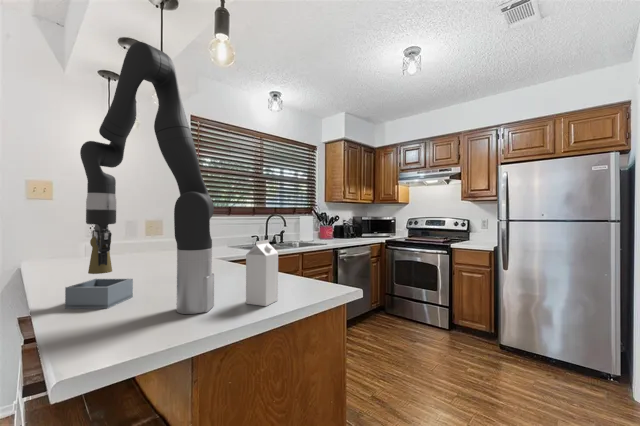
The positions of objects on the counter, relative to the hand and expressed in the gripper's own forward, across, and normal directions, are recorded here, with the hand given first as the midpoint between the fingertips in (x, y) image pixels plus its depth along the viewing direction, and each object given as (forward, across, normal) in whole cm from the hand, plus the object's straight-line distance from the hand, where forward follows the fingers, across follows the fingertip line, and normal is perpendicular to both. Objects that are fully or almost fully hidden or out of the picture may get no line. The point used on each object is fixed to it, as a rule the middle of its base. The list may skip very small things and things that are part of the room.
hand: (100, 264), depth 93 cm
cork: (+2, 0, 0) cm, 2 cm away
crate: (+12, 0, 0) cm, 12 cm away
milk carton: (+12, -35, -35) cm, 50 cm away
